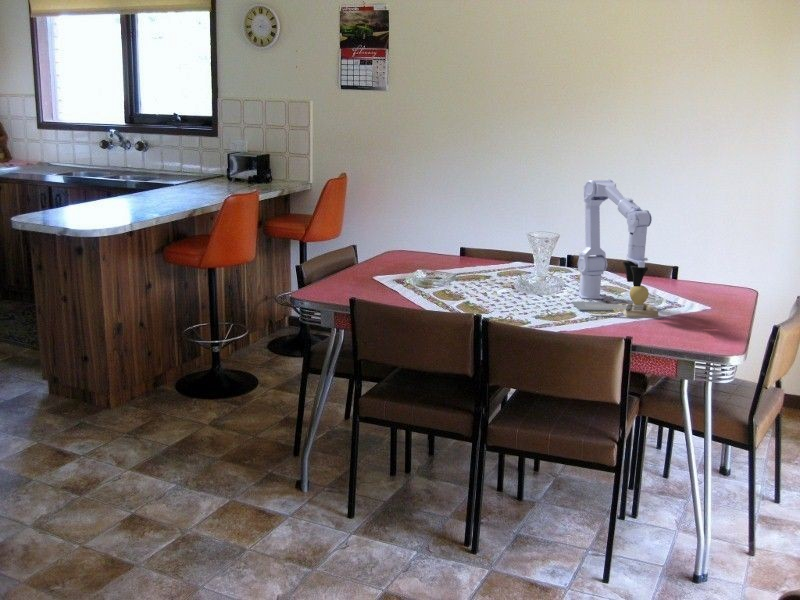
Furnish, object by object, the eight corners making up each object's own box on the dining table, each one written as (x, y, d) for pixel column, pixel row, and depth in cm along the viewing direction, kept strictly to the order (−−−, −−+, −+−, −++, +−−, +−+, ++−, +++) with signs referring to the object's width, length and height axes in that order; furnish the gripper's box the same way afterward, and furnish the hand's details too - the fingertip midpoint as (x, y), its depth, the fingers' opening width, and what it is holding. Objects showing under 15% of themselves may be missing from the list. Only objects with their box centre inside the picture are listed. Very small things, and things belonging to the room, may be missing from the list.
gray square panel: (571, 302, 310) (571, 301, 310) (604, 303, 311) (604, 302, 311) (579, 310, 299) (579, 309, 298) (613, 311, 299) (613, 309, 299)
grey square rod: (585, 307, 293) (585, 302, 293) (585, 306, 295) (585, 301, 294) (631, 310, 291) (631, 305, 290) (630, 309, 293) (630, 304, 292)
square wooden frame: (617, 308, 303) (617, 303, 302) (647, 309, 303) (648, 303, 303) (626, 316, 292) (627, 310, 291) (657, 316, 292) (658, 311, 292)
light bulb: (650, 314, 296) (653, 286, 294) (637, 315, 293) (639, 287, 291) (637, 310, 302) (639, 282, 299) (624, 311, 299) (626, 284, 296)
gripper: (655, 249, 285) (651, 288, 288) (641, 242, 299) (638, 279, 302) (634, 248, 284) (631, 288, 288) (622, 241, 299) (619, 279, 302)
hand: (633, 284), depth 295 cm, fingers open, 7 cm apart
